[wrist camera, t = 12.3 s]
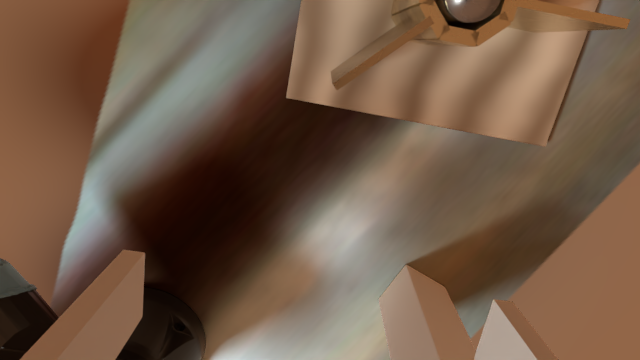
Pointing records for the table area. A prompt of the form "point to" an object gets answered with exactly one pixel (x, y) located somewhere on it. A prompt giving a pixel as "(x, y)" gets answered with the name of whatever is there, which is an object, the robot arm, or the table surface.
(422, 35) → the hinge
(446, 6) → the hinge pin
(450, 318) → the milk
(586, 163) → the table surface
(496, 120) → the board
